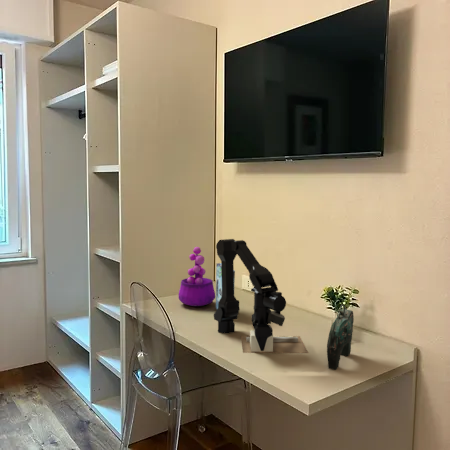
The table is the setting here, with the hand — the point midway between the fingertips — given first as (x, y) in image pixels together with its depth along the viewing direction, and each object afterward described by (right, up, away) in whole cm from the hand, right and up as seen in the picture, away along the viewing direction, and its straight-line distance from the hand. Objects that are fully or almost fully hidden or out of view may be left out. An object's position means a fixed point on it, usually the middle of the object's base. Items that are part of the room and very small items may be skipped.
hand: (261, 346), depth 172 cm
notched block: (0, -1, 0) cm, 1 cm away
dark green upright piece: (+28, -3, -7) cm, 29 cm away
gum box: (-14, +2, +49) cm, 51 cm away
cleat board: (+5, -2, +5) cm, 7 cm away
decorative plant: (-28, +4, +65) cm, 70 cm away
